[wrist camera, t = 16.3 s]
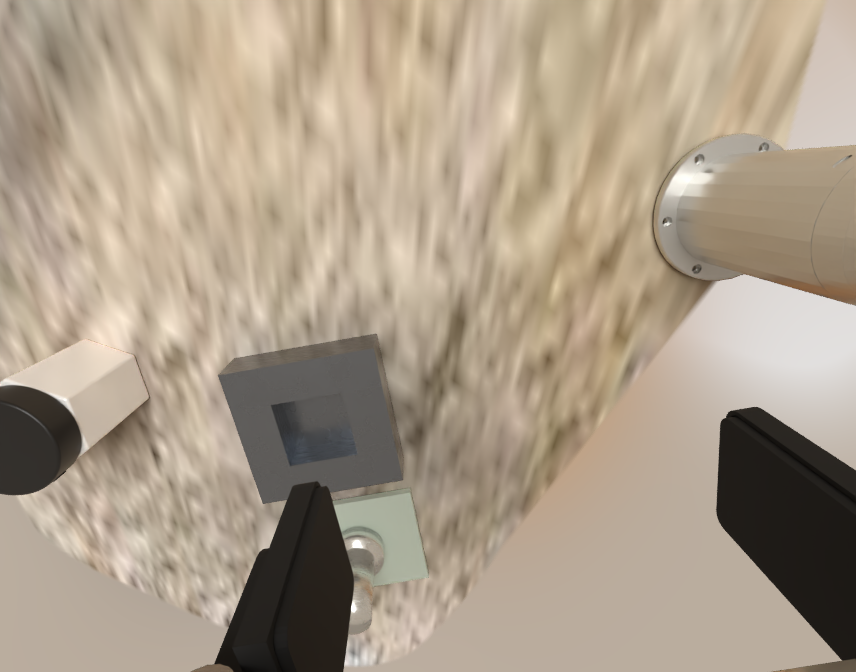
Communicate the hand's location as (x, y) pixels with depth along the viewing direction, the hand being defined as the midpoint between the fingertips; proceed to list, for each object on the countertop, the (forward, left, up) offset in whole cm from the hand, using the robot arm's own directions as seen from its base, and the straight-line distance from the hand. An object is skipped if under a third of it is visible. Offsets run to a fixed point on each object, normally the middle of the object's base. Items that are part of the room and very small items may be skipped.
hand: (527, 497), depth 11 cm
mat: (+14, +30, -33) cm, 47 cm away
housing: (+14, +13, -33) cm, 38 cm away
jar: (+34, +6, -34) cm, 48 cm away
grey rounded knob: (+14, +30, -32) cm, 46 cm away
